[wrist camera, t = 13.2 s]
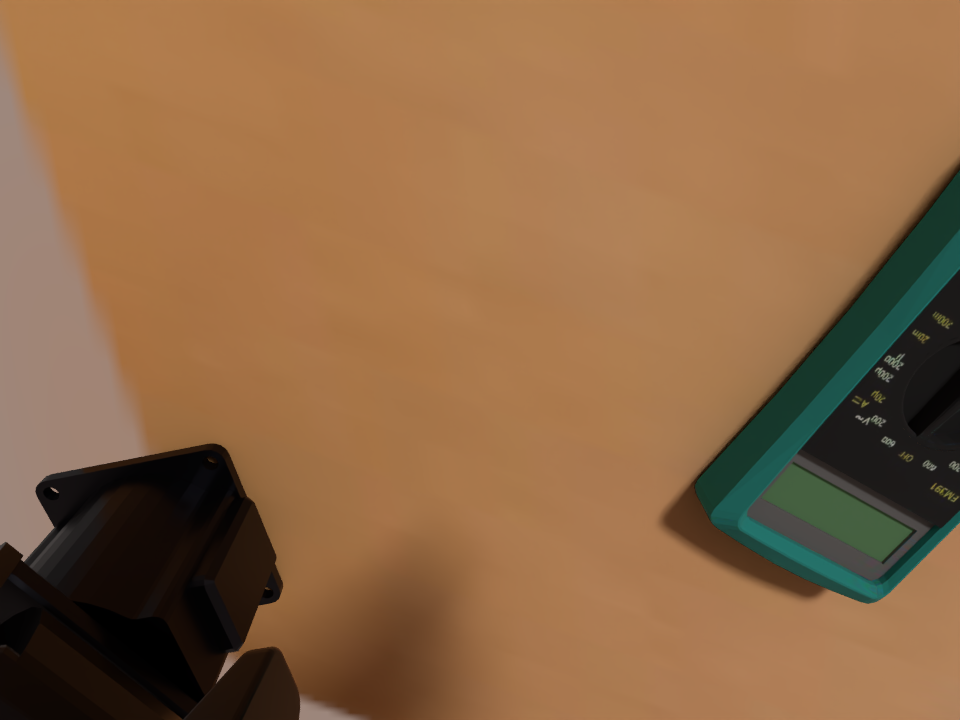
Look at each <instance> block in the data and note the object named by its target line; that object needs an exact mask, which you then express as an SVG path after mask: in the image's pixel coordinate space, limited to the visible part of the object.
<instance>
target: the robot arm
mask: <svg viewBox="0 0 960 720" xmlns="http://www.w3.org/2000/svg"><path fill="white" fill-rule="evenodd" d="M207 456H208V457H213V458H215V459H216V460H217V461H218V463H212V462H210V461H209V460H208V459H207ZM51 487H52V488H54V489H56V490H57V491H58V492H59V493H56V492H54V491H53V490H52V489H51ZM36 495H37V497H38V499H39V501H40V503H41V504H42V506H43V508H44V510H45V511H46V513H47V515H48V517H49V519H50V520H51V522H52V524H53V526H54V527H55V528H54V529H53V530H52V531H51V532H50V533H49V534H48V535H47V537H46V538H45V539H44V540H43V541H42V542H41V544H40V545H39V546H38V547H37V548H36V549H35V550H34V551H33V552H32V554H31V555H30V556H29V557H28V558H27V559H26V560H25V561H24V562H23V561H22V560H21V558H22V557H23V555H22V554H21V553H19V552H18V551H17V550H16V549H14V548H13V547H12V546H11V545H9V544H8V543H7V542H5V543H3V544H2V545H0V720H299V713H300V697H299V692H298V688H297V686H296V683H295V681H294V679H293V677H292V674H291V672H290V670H289V667H288V665H287V663H286V661H285V658H284V656H283V654H282V652H281V651H280V650H279V649H278V648H277V647H267V648H261V649H255V650H250V651H247V652H246V653H244V654H243V655H242V656H241V657H240V658H239V659H238V660H237V661H236V662H235V664H234V665H233V666H232V667H231V668H230V669H229V670H228V671H227V672H226V673H225V674H224V676H223V677H222V678H221V679H220V680H219V681H218V682H217V679H218V677H219V674H220V672H221V670H222V667H223V665H224V662H225V660H226V657H227V655H228V653H230V652H236V651H239V649H240V648H241V646H242V645H243V643H244V642H245V639H246V636H247V634H248V631H249V629H250V626H251V624H252V621H253V618H254V616H255V613H256V611H257V608H258V605H264V604H270V603H273V602H276V601H277V600H278V599H279V597H280V594H281V592H282V589H283V582H282V580H281V577H280V575H279V573H278V570H277V568H276V565H275V561H276V554H275V552H274V549H273V547H272V544H271V542H270V539H269V537H268V535H267V532H266V530H265V527H264V525H263V523H262V520H261V518H260V515H259V513H258V510H257V508H256V506H255V503H254V502H253V501H252V500H251V499H250V498H248V497H247V496H246V493H245V491H244V489H243V486H242V484H241V481H240V479H239V477H238V474H237V472H236V469H235V467H234V464H233V462H232V460H231V457H230V455H229V453H228V452H227V450H226V449H225V448H224V447H222V446H221V445H218V444H205V445H200V446H195V447H190V448H185V449H180V450H174V451H169V452H164V453H159V454H154V455H149V456H144V457H138V458H133V459H128V460H123V461H118V462H113V463H108V464H102V465H97V466H92V467H87V468H82V469H77V470H71V471H67V472H61V473H56V474H51V475H49V476H46V477H45V478H44V479H43V480H42V481H41V482H40V483H39V484H38V485H37V487H36ZM265 587H268V588H271V589H272V590H266V589H265ZM216 682H217V683H216Z"/></svg>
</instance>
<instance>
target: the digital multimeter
mask: <svg viewBox="0 0 960 720" xmlns="http://www.w3.org/2000/svg"><path fill="white" fill-rule="evenodd" d="M959 269H960V170H959V172H958V173H957V174H956V176H955V177H954V178H953V180H952V181H951V182H950V184H949V185H948V186H947V188H946V189H945V190H944V191H943V193H942V194H941V195H940V197H939V198H938V199H937V201H936V202H935V203H934V205H933V206H932V207H931V209H930V210H929V211H928V212H927V214H926V215H925V216H924V217H923V219H922V220H921V221H920V222H919V224H918V225H917V226H916V227H915V228H914V230H913V231H912V232H911V233H910V235H909V236H908V237H907V238H906V239H905V241H904V242H903V243H902V244H901V246H900V247H899V248H898V249H897V250H896V252H895V253H894V254H893V255H892V257H891V258H890V259H889V260H888V262H887V263H886V264H885V265H884V267H883V268H882V269H881V270H880V272H879V273H878V274H877V275H876V277H875V278H874V279H873V280H872V282H871V283H870V284H869V286H868V287H867V288H866V289H865V291H864V292H863V293H862V294H861V296H860V297H859V298H858V299H857V301H856V302H855V303H854V304H853V306H852V307H851V308H850V309H849V310H848V312H847V313H846V314H845V315H844V316H843V317H842V319H841V320H840V321H839V322H838V323H837V324H836V326H835V327H834V328H833V329H832V330H831V331H830V332H829V334H828V335H827V336H826V337H825V338H824V339H823V341H822V342H821V343H820V344H819V345H818V346H817V348H816V349H815V350H814V351H813V352H812V353H811V354H810V356H809V357H808V358H807V359H806V360H805V361H804V363H803V364H802V365H801V366H800V367H799V369H798V370H797V371H796V372H795V373H794V374H793V376H792V377H791V378H790V379H789V380H788V382H787V383H786V384H785V385H784V386H783V387H782V389H781V390H780V391H779V392H778V393H777V394H776V395H775V396H774V398H773V399H772V400H771V401H770V402H769V403H768V404H767V405H766V406H765V407H764V408H763V409H762V411H761V412H760V413H759V414H758V415H757V416H756V417H755V418H754V419H753V420H752V421H751V422H750V424H749V425H748V426H747V427H746V428H745V429H744V430H743V431H742V432H741V433H740V434H739V435H738V437H737V438H736V439H735V440H734V441H733V442H732V443H731V444H730V445H729V446H728V447H727V448H726V450H725V451H724V452H723V453H722V454H721V455H720V456H719V457H718V458H717V459H716V460H715V462H714V463H713V464H712V465H711V466H710V467H709V468H708V469H707V470H706V471H705V472H704V474H703V475H702V476H701V477H700V478H699V479H698V480H697V483H696V485H695V491H696V494H697V496H698V498H699V500H700V502H701V504H702V506H703V507H704V509H705V511H706V513H707V515H708V517H709V519H710V521H711V523H712V524H713V525H714V526H715V527H716V528H718V529H719V530H721V531H723V532H724V533H726V534H727V535H729V536H730V537H732V538H733V539H735V540H736V541H738V542H740V543H741V544H743V545H744V546H746V547H747V548H749V549H751V550H752V551H754V552H756V553H757V554H759V555H761V556H762V557H764V558H766V559H767V560H769V561H771V562H772V563H774V564H776V565H778V566H780V567H782V568H784V569H786V570H788V571H790V572H792V573H794V574H796V575H797V576H799V577H801V578H803V579H806V580H808V581H810V582H813V583H815V584H817V585H820V586H822V587H824V588H827V589H829V590H831V591H834V592H836V593H839V594H841V595H844V596H847V597H849V598H852V599H854V600H857V601H860V602H863V603H868V604H869V603H874V602H877V601H879V600H880V599H882V598H883V597H885V596H886V595H887V594H889V593H890V592H891V591H892V590H893V589H894V588H895V587H896V586H897V585H898V584H899V583H900V582H901V581H902V580H903V579H904V578H905V577H906V576H907V575H908V574H909V573H910V572H911V571H912V570H913V569H914V568H915V567H916V566H917V565H918V564H919V563H920V562H921V561H922V560H923V559H924V558H925V557H926V556H927V555H928V554H929V553H930V552H931V551H932V550H933V549H934V548H935V547H936V546H937V545H938V544H939V543H940V542H941V541H942V540H943V539H944V538H945V537H946V536H947V535H948V534H949V533H950V532H951V531H952V530H953V529H954V528H955V527H956V526H957V525H958V524H959V523H960V270H959ZM958 270H959V271H958ZM957 271H958V272H957ZM954 275H955V276H954ZM953 276H954V277H953ZM952 277H953V278H952ZM951 278H952V279H951ZM950 279H951V280H950ZM949 280H950V281H949ZM946 284H947V285H946ZM945 285H946V286H945ZM944 286H945V287H944ZM943 287H944V288H943ZM942 288H943V289H942ZM941 289H942V290H941ZM938 293H939V294H938ZM937 294H938V295H937ZM936 295H937V296H936ZM935 296H936V297H935ZM934 297H935V298H934ZM933 298H934V299H933ZM931 301H932V302H931ZM930 302H931V303H930ZM929 303H930V304H929ZM928 304H929V305H928ZM927 305H928V306H927ZM926 306H927V307H926ZM925 307H926V308H925ZM924 308H925V309H924ZM923 310H924V311H923ZM922 311H923V312H922ZM921 312H922V313H921ZM920 313H921V314H920ZM919 314H920V315H919ZM918 315H919V316H918ZM917 316H918V317H917ZM916 317H917V318H916ZM915 319H916V320H915ZM914 320H915V321H914ZM913 321H914V322H913ZM912 322H913V323H912ZM911 323H912V324H911ZM910 324H911V325H910ZM909 325H910V326H909ZM908 326H909V327H908ZM907 328H908V329H907ZM906 329H907V330H906ZM905 330H906V331H905ZM904 331H905V332H904ZM903 332H904V333H903ZM902 333H903V334H902ZM901 334H902V335H901ZM900 335H901V336H900ZM899 337H900V338H899ZM898 338H899V339H898ZM897 339H898V340H897ZM896 340H897V341H896ZM895 341H896V342H895ZM894 342H895V343H894ZM893 343H894V344H893ZM892 344H893V345H892ZM891 346H892V347H891ZM890 347H891V348H890ZM889 348H890V349H889ZM888 349H889V350H888ZM887 350H888V351H887ZM886 351H887V352H886ZM885 352H886V353H885ZM884 353H885V355H884ZM883 355H884V356H883ZM882 356H883V357H882ZM881 357H882V358H881ZM880 358H881V359H880ZM879 359H880V360H879ZM878 360H879V361H878ZM877 361H878V362H877ZM876 363H877V364H876ZM875 364H876V365H875ZM874 365H875V366H874ZM873 366H874V367H873ZM872 367H873V368H872ZM871 368H872V369H871ZM870 369H871V370H870ZM869 370H870V371H869ZM868 372H869V373H868ZM867 373H868V374H867ZM866 374H867V375H866ZM865 375H866V376H865ZM864 376H865V377H864ZM863 377H864V378H863ZM862 378H863V379H862ZM861 379H862V380H861ZM860 381H861V382H860ZM859 382H860V383H859ZM858 383H859V384H858ZM857 384H858V385H857ZM856 385H857V386H856ZM855 386H856V387H855ZM854 387H855V388H854ZM852 390H853V391H852ZM851 391H852V392H851ZM850 392H851V393H850ZM849 393H850V394H849ZM848 394H849V395H848ZM847 395H848V396H847ZM846 396H847V397H846ZM844 399H845V400H844ZM843 400H844V401H843ZM842 401H843V402H842ZM841 402H842V403H841ZM840 403H841V404H840ZM839 404H840V405H839ZM837 407H838V408H837ZM836 408H837V409H836ZM835 409H836V410H835ZM834 410H835V411H834ZM833 411H834V412H833ZM832 412H833V413H832ZM831 413H832V414H831ZM829 416H830V417H829ZM828 417H829V418H828ZM827 418H828V419H827ZM826 419H827V420H826ZM825 420H826V421H825ZM824 421H825V422H824ZM823 422H824V423H823ZM821 425H822V426H821ZM820 426H821V427H820ZM819 427H820V428H819ZM818 428H819V429H818ZM817 429H818V430H817ZM816 430H817V431H816ZM813 434H814V435H813ZM812 435H813V436H812ZM811 436H812V437H811ZM810 437H811V438H810ZM805 443H806V444H805ZM804 444H805V445H804ZM803 445H804V446H803ZM926 447H927V448H926ZM939 450H942V451H939ZM950 450H954V451H950Z"/></svg>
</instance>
